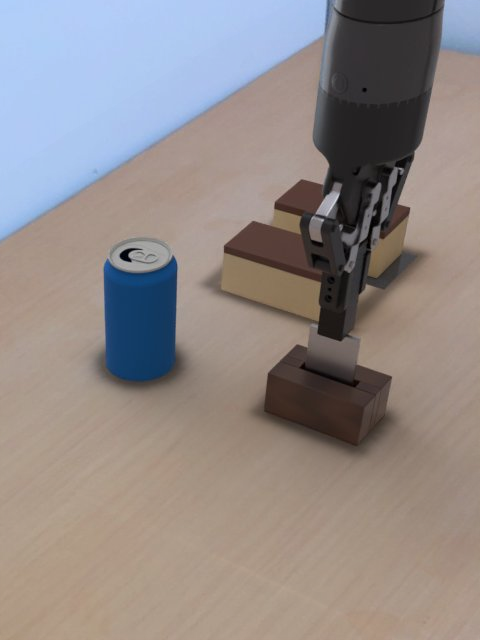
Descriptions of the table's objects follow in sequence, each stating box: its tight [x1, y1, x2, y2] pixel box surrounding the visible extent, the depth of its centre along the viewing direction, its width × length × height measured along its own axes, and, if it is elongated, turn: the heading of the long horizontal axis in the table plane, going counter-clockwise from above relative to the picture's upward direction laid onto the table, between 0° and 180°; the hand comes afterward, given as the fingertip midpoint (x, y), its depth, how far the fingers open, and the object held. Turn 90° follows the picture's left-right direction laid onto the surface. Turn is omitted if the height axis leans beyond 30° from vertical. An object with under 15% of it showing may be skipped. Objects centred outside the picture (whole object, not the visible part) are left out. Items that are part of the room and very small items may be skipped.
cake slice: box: [220, 220, 323, 323], centre depth 107 cm, size 12×5×5 cm, turn 50°
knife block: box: [263, 343, 393, 447], centre depth 95 cm, size 9×5×5 cm, turn 50°
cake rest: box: [271, 178, 411, 278], centre depth 111 cm, size 12×5×5 cm, turn 50°
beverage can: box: [103, 236, 179, 382], centre depth 100 cm, size 6×6×12 cm
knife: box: [305, 238, 368, 387], centre depth 90 cm, size 4×2×15 cm, turn 51°
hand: (341, 298), depth 88 cm, fingers closed on knife, 2 cm apart
